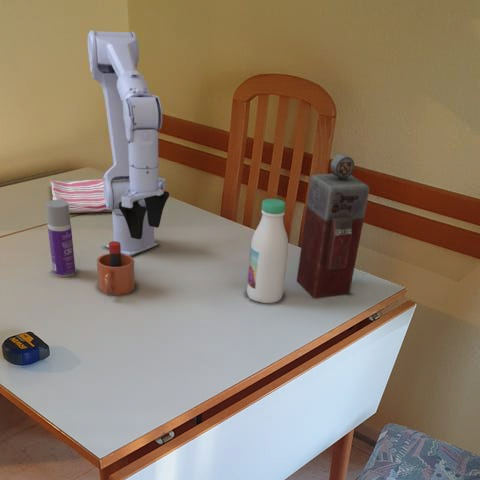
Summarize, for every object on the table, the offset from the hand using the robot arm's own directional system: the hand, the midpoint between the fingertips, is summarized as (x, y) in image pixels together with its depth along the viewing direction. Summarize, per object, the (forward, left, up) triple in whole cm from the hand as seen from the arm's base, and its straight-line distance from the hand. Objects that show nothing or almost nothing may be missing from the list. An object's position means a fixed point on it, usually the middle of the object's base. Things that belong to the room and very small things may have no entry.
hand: (145, 232), depth 132 cm
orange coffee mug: (+10, 0, -10) cm, 14 cm away
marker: (+8, -1, -9) cm, 12 cm away
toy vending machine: (-23, +32, -10) cm, 41 cm away
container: (+11, -14, -10) cm, 20 cm away
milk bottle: (-11, +24, -10) cm, 28 cm away
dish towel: (-24, -46, -10) cm, 52 cm away
